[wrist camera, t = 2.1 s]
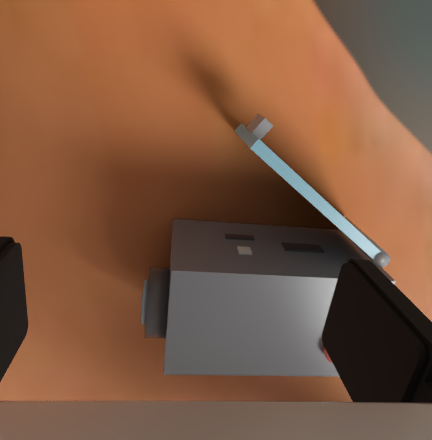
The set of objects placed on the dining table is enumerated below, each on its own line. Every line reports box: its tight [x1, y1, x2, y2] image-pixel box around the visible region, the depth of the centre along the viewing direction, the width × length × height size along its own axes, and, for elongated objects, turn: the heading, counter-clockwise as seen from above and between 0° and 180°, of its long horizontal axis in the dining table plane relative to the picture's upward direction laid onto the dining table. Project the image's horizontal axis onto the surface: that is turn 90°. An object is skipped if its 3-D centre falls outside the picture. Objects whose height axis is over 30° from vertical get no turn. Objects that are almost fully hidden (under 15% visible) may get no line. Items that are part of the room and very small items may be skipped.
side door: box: [235, 114, 390, 267], centre depth 28 cm, size 14×2×7 cm, turn 48°
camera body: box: [141, 219, 395, 376], centre depth 31 cm, size 18×9×10 cm, turn 83°
